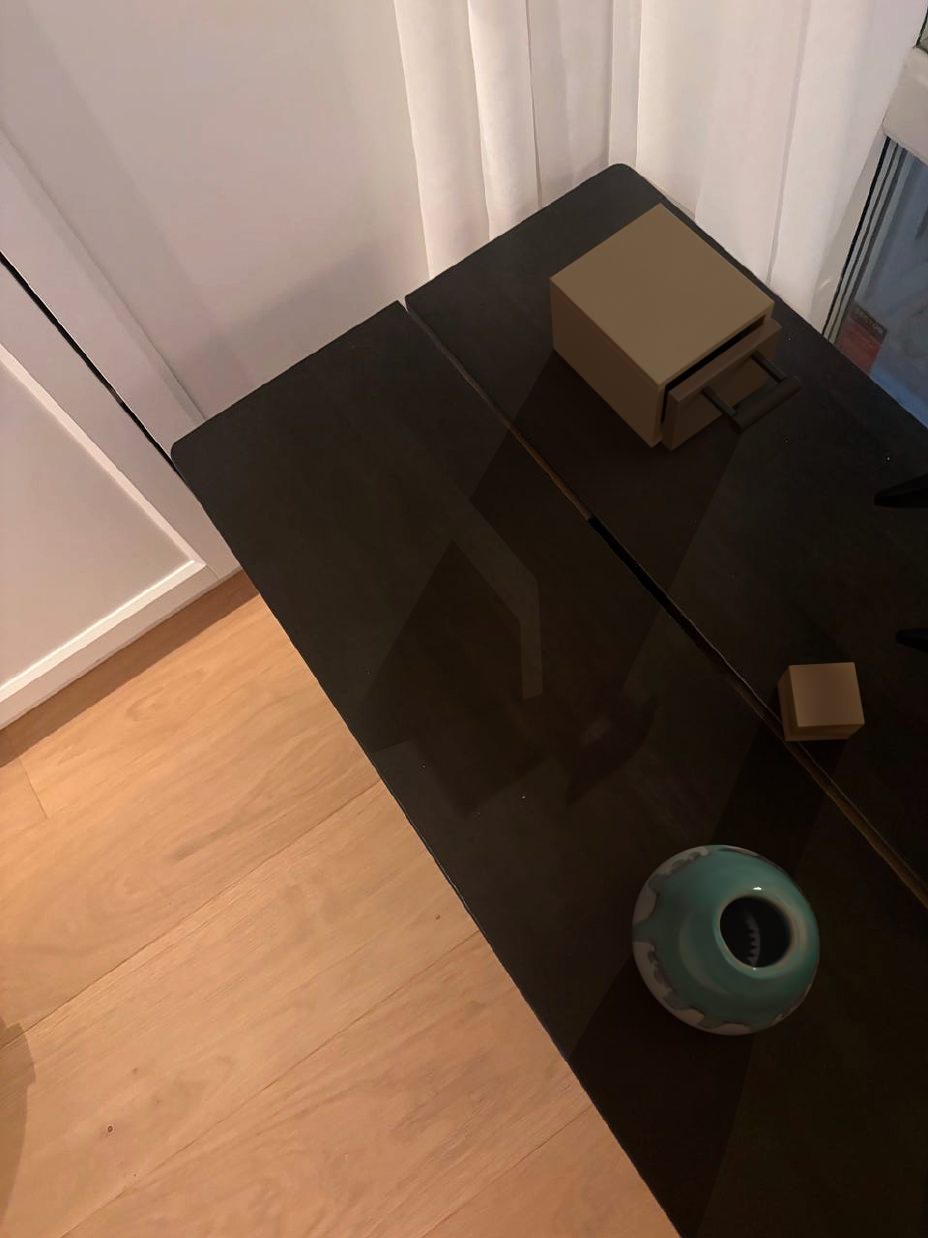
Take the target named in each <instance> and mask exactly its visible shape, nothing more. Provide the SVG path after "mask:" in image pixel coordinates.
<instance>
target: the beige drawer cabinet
mask: <svg viewBox="0 0 928 1238" xmlns="http://www.w3.org/2000/svg"><path fill="white" fill-rule="evenodd" d="M548 280H549V294H550V297H549V298H550V311H551V327H552V328H551V329H552V345H553V346H552V347H553V350H554V351H556V353H558V355H559V356H560V357H561V358H563V360H564V361H565V362H566V363H567V364H568V365H569V366H570V367H571V368H572V369H573V370H574V371H575V372H576V373H577V374H578V375H579V376H580V377H581V378H582V379H583V380H584V381H585V382H586V383H587V384H588V385H589V386H590V387H591V388H592V389H593V390H594V392H596V393H597V394H598V395H599V396H600V397H601V398H602V400H604V402H605V403H607V404H608V405H609V407H611V408H612V409H613V410H614V412H615V413H616V414H618V416H620V418H621V419H622V420H624V422H625V423H626V424H627V425H628V426H629V427H630V428H631V429H632V430H633V431H634V432H635V433H637V435H638V436H639V437H640V438H641V440H643V441H644V442H645V443H646V444H647V445H648V446H649V447H650V448H653V447H655V446H656V445H657V444H658V443H659V442H662V435H663V427H664V421H663V422H662V423H661V416H662V408H663V400H664V392H665V385H666V384H668V383H669V382H671V381H672V380H673V379H675V378H676V377H678V376H679V375H680V374H682V373H683V372H685V371H686V370H687V369H689V368H690V367H692V366H693V365H695V364H696V363H697V362H699V361H700V360H702V359H703V358H704V357H706V356H707V355H709V354H710V353H711V352H713V351H714V350H716V349H717V348H718V347H720V346H721V345H723V344H724V343H725V342H727V341H728V340H730V339H731V338H732V337H734V336H735V335H737V334H738V333H739V332H741V331H742V330H744V329H745V328H746V327H748V326H749V325H750V326H749V330H748V334H747V335H749V334H750V333H752V332H753V331H754V330H756V329H757V328H759V327H760V326H761V325H763V324H764V323H766V322H767V321H768V320H770V319H771V317H772V313H773V309H774V307H775V301H774V300H773V299H771V298H770V296H769V295H767V294H766V293H765V292H763V290H762V289H760V288H759V287H758V286H757V285H756V284H755V283H753V282H752V281H751V280H750V279H748V277H746V276H745V275H744V274H743V273H742V272H741V271H739V270H738V269H737V268H736V266H734V265H732V264H731V262H729V261H728V260H727V259H726V258H725V257H723V256H722V255H721V254H720V253H719V252H718V251H716V250H715V248H713V247H712V246H711V245H709V244H708V243H707V242H706V241H705V240H703V238H702V237H700V236H699V235H698V234H696V233H695V232H694V231H693V230H692V229H691V228H690V227H688V226H687V225H686V224H685V223H684V222H683V221H682V220H680V219H679V218H678V217H677V216H675V214H674V213H673V212H671V211H670V210H669V209H668V208H666V206H664V205H663V204H662V203H661V202H659V203H658V204H656V205H655V206H653V207H652V208H651V209H649V210H647V211H646V212H644V213H643V214H641V215H640V216H638V217H637V218H636V219H634V220H633V221H631V222H629V224H627V225H626V226H624V227H622V228H621V229H620V230H618V231H617V232H615V233H614V234H612V235H611V236H609V237H608V238H607V239H604V241H602V242H601V243H599V244H598V245H596V246H595V247H593V248H592V249H590V250H589V251H588V252H586V253H584V254H583V255H582V256H580V257H579V258H578V259H576V260H574V261H573V262H572V263H570V264H569V265H567V266H566V267H564V268H563V269H561V270H559V272H557V273H555V274H554V275H552V276H551V277H550V278H549V279H548Z"/></svg>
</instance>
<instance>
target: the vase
mask: <svg viewBox="0 0 928 1238" xmlns="http://www.w3.org/2000/svg"><path fill="white" fill-rule="evenodd" d="M632 912H633V913H632V918H631V919H632V920H631V929H630V938H631V939H630V940H631V951H632V955H633V959H634V962H635V965H636V968H637V970H638V972H639V974H640V976H641V979H642V980H643V982H644V984H645V986H646V987H647V989H648V990H649V992H650V993H651V994H652V995H653V997H654V998H655V999H656V1001H657V1002H658V1003H659V1004H660V1005H661V1006H663V1008H664V1009H665V1010H667V1011H668V1012H669V1013H670V1014H671V1015H672V1016H674V1017H676V1018H677V1019H678V1020H679V1021H682V1022H683V1023H684V1024H687V1025H688V1026H690V1027H693V1028H695V1029H698V1030H700V1031H704V1032H707V1033H710V1034H714V1035H719V1036H720V1035H721V1036H745V1035H749V1034H754V1033H758V1032H762V1031H764V1030H768V1029H769V1028H771V1027H774V1026H776V1025H777V1024H779V1023H781V1022H782V1021H784V1020H785V1019H786V1018H787V1017H789V1016H790V1015H791V1014H792V1013H794V1011H795V1010H797V1008H798V1007H799V1006H800V1005H802V1003H803V1001H804V1000H805V998H806V997H807V996H808V994H809V992H810V990H811V988H812V986H813V983H814V981H815V979H816V976H817V971H818V968H819V962H820V950H821V944H820V943H821V942H820V931H819V930H820V929H819V926H818V921H817V918H816V916H815V913H814V910H813V908H812V905H811V903H810V901H809V900H808V898H807V896H806V894H805V893H804V892H803V889H802V888H801V887H800V886H799V885H798V884H797V882H796V881H795V880H794V879H793V878H792V877H791V876H790V875H789V873H788V872H787V871H785V870H784V869H783V868H782V867H780V866H779V865H777V864H776V863H774V862H773V861H771V860H770V859H768V858H766V857H765V856H763V855H761V854H759V853H756V852H754V851H751V850H748V849H746V848H741V847H737V846H732V845H724V844H710V845H701V846H696V847H693V848H689V849H686V850H683V851H681V852H679V853H677V854H675V855H673V856H671V857H669V858H668V859H666V860H665V861H664V862H662V863H661V864H660V865H659V866H657V867H656V869H655V870H653V872H652V873H651V874H650V876H648V878H647V879H646V881H645V883H644V884H643V886H642V888H641V889H640V891H639V893H638V895H637V897H636V900H635V903H634V908H633V911H632Z"/></svg>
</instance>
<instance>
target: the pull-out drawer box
mask: <svg viewBox="0 0 928 1238" xmlns="http://www.w3.org/2000/svg"><path fill="white" fill-rule="evenodd" d="M749 326H750V325H749ZM749 326H748V327H746V328H745V329H744V330H742V331H741V332H739V333H738V334H737V335H735V336H734V337H732V338H731V339H730V340H728V341H727V342H725V343H724V344H723V345H721V346H720V347H718V348H717V349H716V350H714V351H713V352H711V353H710V354H709V355H707V356H706V357H704V358H703V359H702V360H700V361H699V362H697V363H696V364H695V365H693V366H692V367H690V368H689V369H687V370H686V371H685V372H683V373H682V374H680V375H679V376H678V377H676V378H675V379H673V380H672V381H671V382H669V383H668V384H666V385H665V392H664V400H663V408H662V416H661V423H662V422H663V421H664V427H663V435H662V440H661V443H662V445H663V446H664V447H665V448H667V450H668V451H669V452H672V451H673V450H675V449H676V448H677V447H679V446H680V445H681V444H683V443H684V442H686V441H687V440H688V439H690V438H691V437H693V436H694V435H696V434H698V432H700V431H702V429H704V428H705V427H706V426H708V425H709V424H711V423H712V422H714V421H715V420H716V419H718V418H719V417H721V416H722V415H723V416H724V417H725V418H726V419H727V421H728V426H729V428H730V429H731V431H732V432H733V433H735V434H737V435H741V434H742V433H744V432H746V431H747V430H748V429H749V428H751V427H753V426H754V425H755V424H756V423H758V422H759V421H761V420H762V419H763V418H764V417H766V416H767V415H769V414H770V413H772V412H773V411H774V410H775V409H777V408H778V407H780V406H781V405H782V404H784V403H786V401H788V400H789V399H791V398H792V397H793V396H794V395H797V394H798V393H799V392H800V391H801V390H802V383H801V381H800V379H799V378H797V376H795V375H792V374H791V375H788V376H787V375H786V374H785V373H784V372H783V371H782V370H781V369H779V368H778V367H777V366H776V365H775V364H774V363H773V360H774V356H775V353H776V350H777V346H778V343H779V340H780V337H781V334H782V331H783V327H782V325H780V324H779V323H778V322H777V321H776V320H774V319H773V318H770V320H768V321H767V322H766V323H764V324H763V325H761V326H760V327H759V328H757V329H756V330H754V331H753V332H752V333H750V334H749V335H747V334H748V330H749ZM768 376H769V377H771V378H772V379H773V380H774V381H775V382H776V383H777V384H776V385H774V387H771V389H769V390H768V391H766V392H765V393H763V394H762V395H761V396H759V397H757V398H756V399H755V400H753V402H751V403H750V404H748V405H747V406H745V407H744V408H743V409H741V410H740V411H738V412H737V411H735V410H734V409H733V407H734V406H736V405H737V404H738V403H741V402H742V401H743V400H744V399H745V398H747V397H748V396H749V395H751V394H753V393H754V392H755V391H757V390H758V389H759V388H761V387H762V386H763V385H765V384H767V379H768Z"/></svg>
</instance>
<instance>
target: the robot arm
mask: <svg viewBox="0 0 928 1238" xmlns="http://www.w3.org/2000/svg"><path fill="white" fill-rule="evenodd" d="M873 505H874V506H877V507H882V508H883V507H885V508H893V509H928V472H926V473H923V474H920V475H918V476H916V477H913V478H910V479H908V480H905V481H903V482H902V481H901V482H900V483H897V484H894V485H892V486H889V487H886V488H884V489H882V490H879V491H878V492H876V493H875V495H874V497H873ZM894 639H895V642H896V643H897V644H900V645H904V646H906V647H908V648H910V649H911V648H912V649H914V650H916V651H920V652H922V653H925V654H927V655H928V627H915V628H904V629H900V630H898V631H897V633H895V635H894Z"/></svg>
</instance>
